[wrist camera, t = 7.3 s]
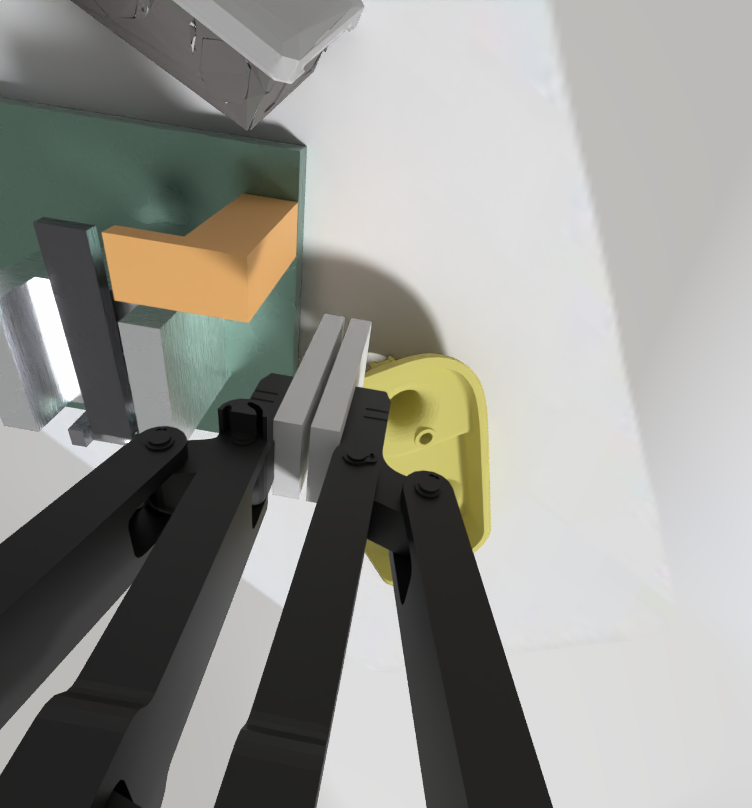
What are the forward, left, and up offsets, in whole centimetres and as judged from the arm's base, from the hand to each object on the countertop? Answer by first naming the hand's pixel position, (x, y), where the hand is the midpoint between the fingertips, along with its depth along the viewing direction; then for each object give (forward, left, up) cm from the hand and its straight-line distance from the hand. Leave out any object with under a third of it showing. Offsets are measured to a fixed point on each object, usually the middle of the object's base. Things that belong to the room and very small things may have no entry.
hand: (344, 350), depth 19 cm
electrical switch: (-10, -7, -13) cm, 18 cm away
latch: (0, -8, -12) cm, 14 cm away
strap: (+6, -14, -6) cm, 17 cm away
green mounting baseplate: (+6, -14, -13) cm, 20 cm away
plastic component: (+15, +4, -14) cm, 20 cm away
